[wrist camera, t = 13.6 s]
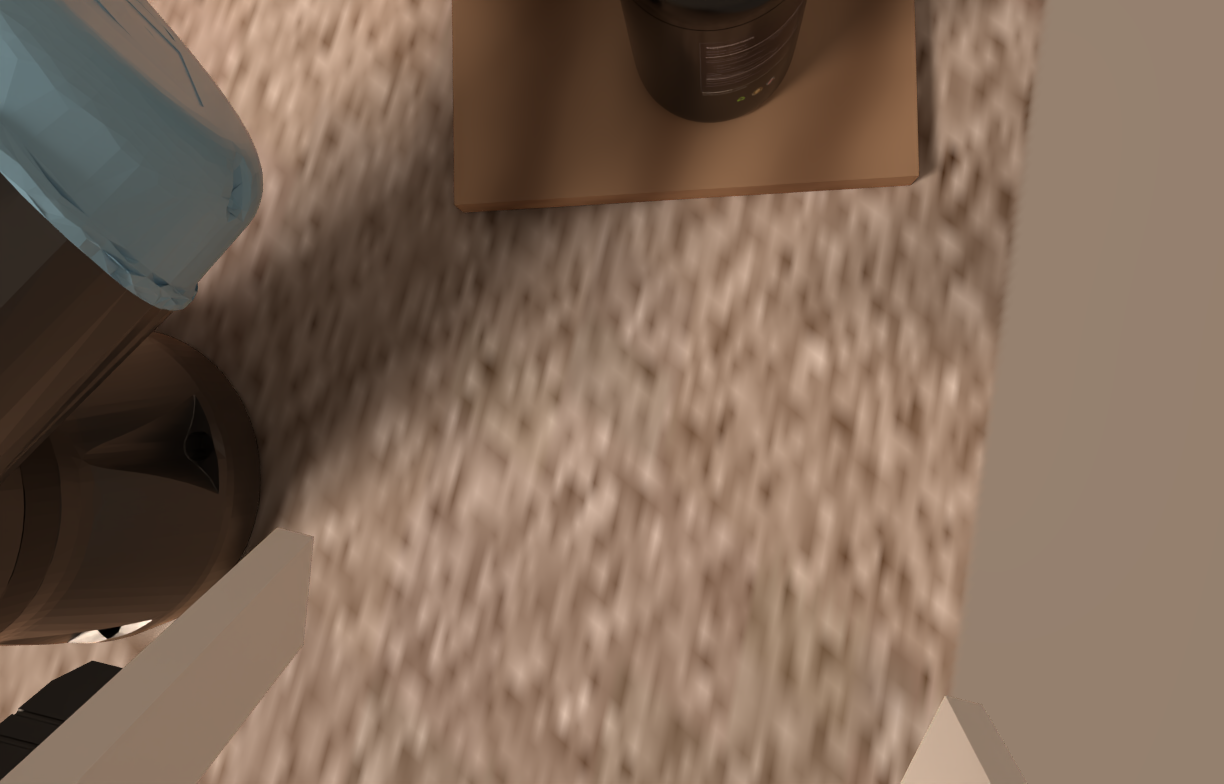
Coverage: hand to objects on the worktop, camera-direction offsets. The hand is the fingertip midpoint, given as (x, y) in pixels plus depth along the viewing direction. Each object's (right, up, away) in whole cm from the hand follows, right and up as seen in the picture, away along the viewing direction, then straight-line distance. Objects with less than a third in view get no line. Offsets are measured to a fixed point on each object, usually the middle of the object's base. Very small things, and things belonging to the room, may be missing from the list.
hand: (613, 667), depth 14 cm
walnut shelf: (+3, +20, +17) cm, 26 cm away
